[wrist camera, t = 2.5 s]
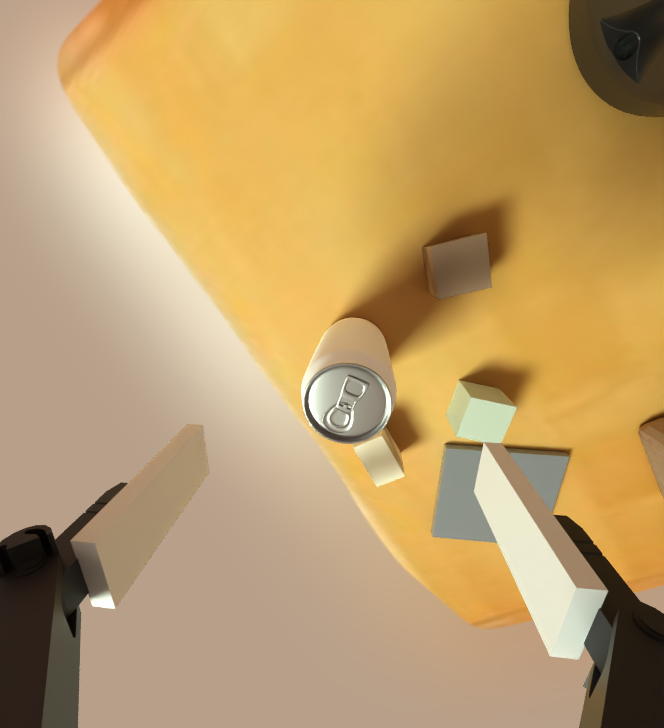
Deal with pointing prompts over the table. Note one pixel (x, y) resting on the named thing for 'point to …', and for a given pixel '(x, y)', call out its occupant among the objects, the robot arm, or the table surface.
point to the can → (349, 383)
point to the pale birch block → (381, 458)
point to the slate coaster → (457, 482)
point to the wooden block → (654, 448)
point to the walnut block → (457, 266)
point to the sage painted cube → (480, 412)
